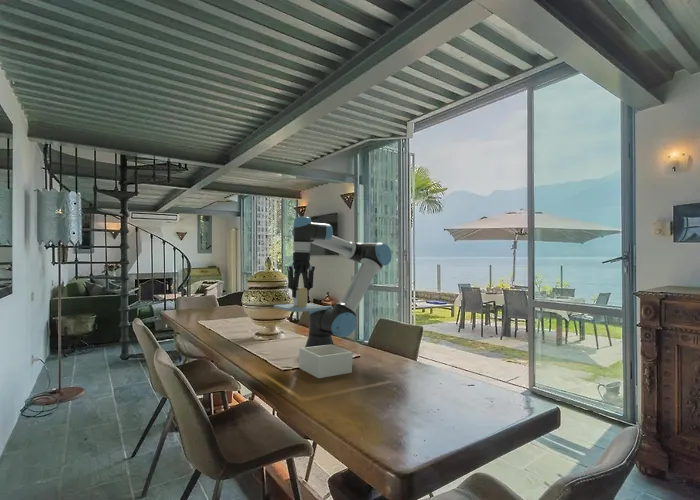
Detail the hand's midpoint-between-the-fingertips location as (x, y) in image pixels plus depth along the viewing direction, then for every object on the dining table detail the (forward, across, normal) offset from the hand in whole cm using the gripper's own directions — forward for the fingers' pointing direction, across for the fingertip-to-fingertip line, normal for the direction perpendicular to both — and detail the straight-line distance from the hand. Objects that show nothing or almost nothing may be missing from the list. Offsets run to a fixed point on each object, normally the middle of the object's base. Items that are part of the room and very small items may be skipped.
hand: (300, 304), depth 169 cm
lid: (+2, 0, 0) cm, 2 cm away
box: (+26, -3, +15) cm, 31 cm away
